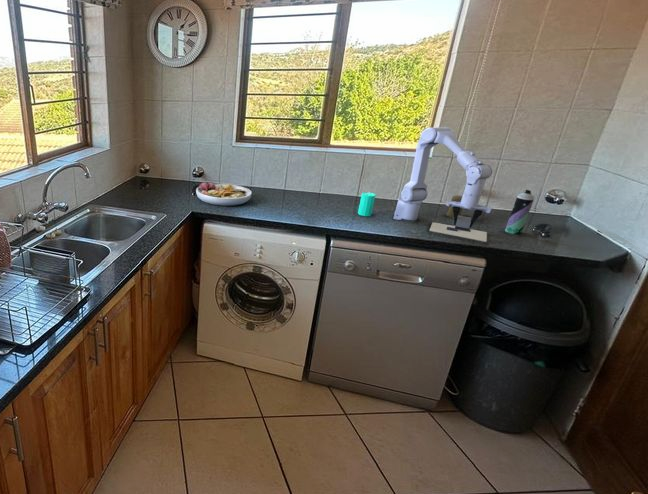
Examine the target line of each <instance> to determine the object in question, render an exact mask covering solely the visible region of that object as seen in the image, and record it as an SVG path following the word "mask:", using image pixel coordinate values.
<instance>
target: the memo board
mask: <svg viewBox="0 0 648 494" xmlns="http://www.w3.org/2000/svg"><path fill="white" fill-rule="evenodd" d="M447 227H452V228H455V225H450V224H444V223H439V222H432V223H431V225H430V228H429V232H434V233H440V234H445V235H450V236H454V237H458V238H459V237H460V238H465V239H469V240H476V241H479V242H480V241H481V242H485V243H487V242H488V232H487V231H483V230H477V229H472V228H470V229H471V231H470V232H468V231H462V230H459V229H458V231H452V230H447Z"/></svg>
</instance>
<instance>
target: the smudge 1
mask: <svg viewBox="0 0 648 494" xmlns="http://www.w3.org/2000/svg"><path fill="white" fill-rule="evenodd" d="M447 230H452V231H458V229H455V228H452V227H447Z"/></svg>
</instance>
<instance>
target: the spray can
mask: <svg viewBox="0 0 648 494" xmlns="http://www.w3.org/2000/svg"><path fill="white" fill-rule="evenodd" d="M534 201H535V196H534V195H533V194H532V191H531V190H530V189H525V191H523V192H522V193H518V194H517V196H516V199H515V202H514V205H513V207H512V209H511V213H510V215H509V218H508V221H507V223H506V227H505V229H504V232H506V233H509V234H511V235H521V234H522V232H523V230H524V228H525V225H526V222H527V219H528V217H529V214H530V211H531V209H532V206H533V203H534Z"/></svg>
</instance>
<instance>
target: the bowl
mask: <svg viewBox="0 0 648 494" xmlns="http://www.w3.org/2000/svg"><path fill="white" fill-rule="evenodd" d="M195 192H196V196H197V198H198V199H199V200H200V201H202V202H204V203H207V204H210V205H215V206H223V207H224V206H225V207H227V206H228V207H231V206H240V205H242V204H245V203H247V202H249V200H250V199H251V198H252V194H253V193H252V190H250V189H249V188H247V187H245V186H241V185H237V184H231V183H214V182H211V181H209V182H204V181H203V182H201V183H200V184H199V185H198V186H197V187H196V189H195Z"/></svg>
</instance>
